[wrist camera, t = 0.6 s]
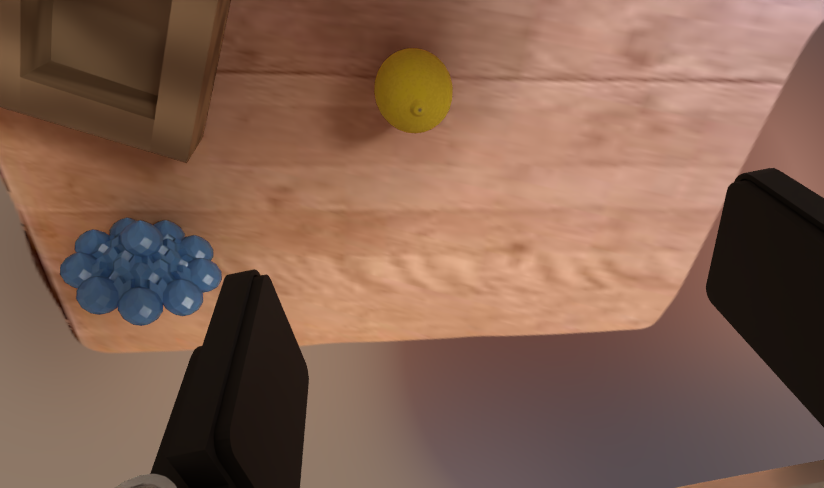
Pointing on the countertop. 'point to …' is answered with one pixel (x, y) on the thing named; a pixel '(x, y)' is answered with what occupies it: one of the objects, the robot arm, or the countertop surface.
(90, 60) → the shaker holder
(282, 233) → the countertop surface
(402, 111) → the lemon
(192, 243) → the grapes
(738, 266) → the robot arm
